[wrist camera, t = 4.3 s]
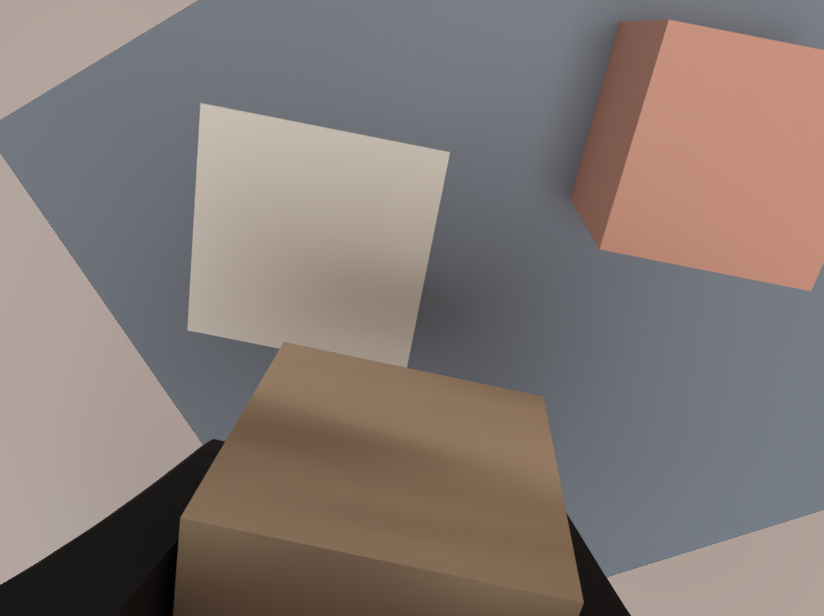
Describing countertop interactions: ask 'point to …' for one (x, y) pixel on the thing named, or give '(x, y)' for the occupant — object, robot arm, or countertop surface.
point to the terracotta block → (708, 153)
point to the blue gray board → (432, 241)
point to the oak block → (378, 500)
